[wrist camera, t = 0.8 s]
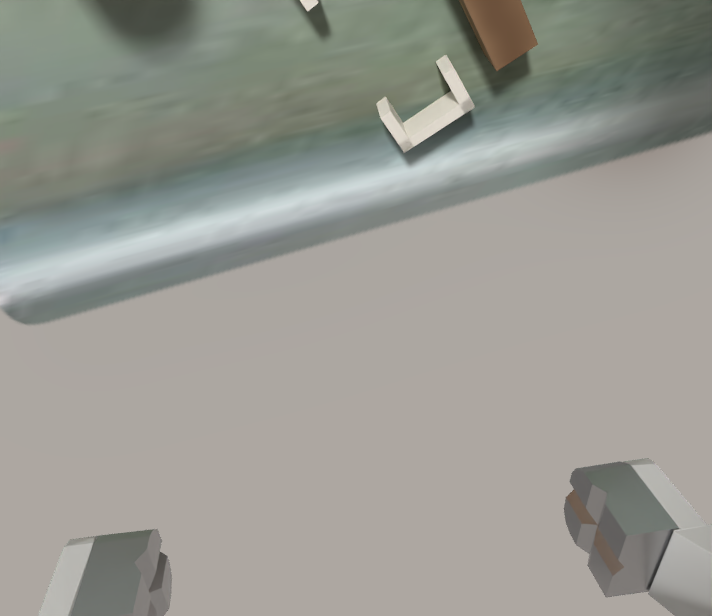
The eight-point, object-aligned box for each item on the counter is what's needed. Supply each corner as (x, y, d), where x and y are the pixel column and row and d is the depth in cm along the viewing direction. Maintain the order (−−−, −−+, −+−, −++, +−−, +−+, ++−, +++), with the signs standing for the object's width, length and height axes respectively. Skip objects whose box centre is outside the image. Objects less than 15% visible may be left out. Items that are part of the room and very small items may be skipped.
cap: (399, 137, 50) (404, 152, 48) (376, 103, 47) (380, 118, 45) (466, 92, 48) (475, 107, 45) (445, 54, 45) (453, 67, 43)
